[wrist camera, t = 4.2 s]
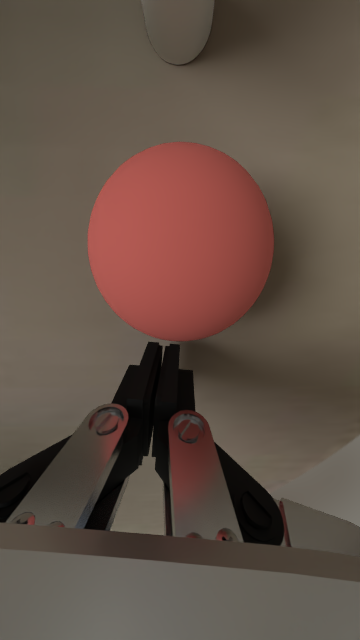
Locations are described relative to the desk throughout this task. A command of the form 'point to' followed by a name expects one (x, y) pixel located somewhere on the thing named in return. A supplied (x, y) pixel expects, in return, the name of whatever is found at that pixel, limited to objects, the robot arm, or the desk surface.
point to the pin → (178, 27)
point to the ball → (180, 241)
